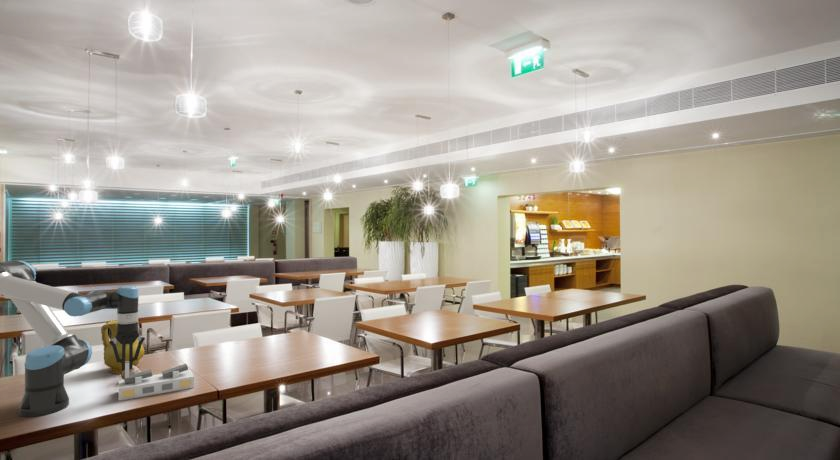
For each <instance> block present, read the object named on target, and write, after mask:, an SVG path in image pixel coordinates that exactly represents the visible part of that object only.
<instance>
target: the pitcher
mask: <svg viewBox="0 0 840 460" xmlns="http://www.w3.org/2000/svg"><path fill="white" fill-rule="evenodd" d="M136 322H138V324H139V323H140V322H139V320H138V321H136ZM117 324H118V322H117V319H116V320H115V319H114V320H112V321H108V322H107V323H105V324H103V325H102V326H101V329H100V332H101V333H100V334H101V340H102V345H103V362H104V365H105V366H106V367H108V368H110V369H109V370H108V371H109V373H110V372H111V374H122V372H123V371H122V363H120V362H117V360H116V357H115V354H114V350H113V347H112V345H111V344H110V343H109V342H110V340H112V339H114V338H115V337H116V335H117ZM108 330H110V332H111V336H110V339H109V333H108V332H109V331H108ZM138 339H139V338H137V339H136V341H135V342H134V343H133V357H134V356H135V353H136V349H137V346H138V342H139V341H138ZM116 346H117V350H118V353H119V357H120V359H122V344H120V343H119V341H118V340H116ZM144 347H145V346H144V345H143V343H142V345H141V349H140V352H139V355H138V359H137V360H134V361H133V364H132V365H134V366H136V367H137V368H138V369H139V366H138V364H139V363H140V360H141V359H142V358H143V357H144V356H145V348H144ZM127 361H129V344H126V349H125V362H127Z"/></svg>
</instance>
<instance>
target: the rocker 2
mask: <svg viewBox="0 0 840 460" xmlns="http://www.w3.org/2000/svg"><path fill="white" fill-rule="evenodd" d="M173 367H174V368H172V367H171V368H169V369H165V370H162V371H161V374H162V375H163V378H166V377H168V376H171V375H173V371H179V373H180V372H183V371H186V370H189V368H188V365H187V363H184V364H181V365H178V366H177V365H176V366H173Z"/></svg>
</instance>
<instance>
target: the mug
mask: <svg viewBox="0 0 840 460" xmlns="http://www.w3.org/2000/svg"><path fill="white" fill-rule="evenodd" d="M138 372H143V371H142V370H140V368H139V367H138V368H137V367H136V366H134V365H132V369H130V370H129V375H131V374H135V373H138ZM124 376H125V370H123V372H122V373H121V375H120V377H121V380H124Z"/></svg>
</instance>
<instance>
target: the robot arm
mask: <svg viewBox="0 0 840 460" xmlns="http://www.w3.org/2000/svg"><path fill="white" fill-rule="evenodd" d="M36 272H37V271H36V269H35V268H34V266H33V265H31V264H30V263H29V262H27V261H24V260H14V259H13V260H6V261H0V296H2V297H3V299H9V300H11V302H12V303H13V304H14V306H15V307H16V308H17V310H18V311H19V313H20V314H21V315H22V317H23V318H24V319H25V320H26V322H27V323H28V325H29V326H30V327H31V328H32V330H33V331H34V333H35V334H36V336H37V337H38V338H39V339H40V341H41V342H42V343H43V345H44V346H43V347H39V348H36V349H33V350H30V352H28V353H27V354H26V355H25V359H24V360H25V362H24V395H23V396H22V398H21V401H20V403H19V406H18V416H21V417H26V418H27V417H39V416H44V415H49V414H52V413H53V414H54V413H56V412H60V411H62V410H63V409H65V408H67V407H68V406H69V405H70V397H69V396H68V393H67V390H66V388H65V386H64V385H65V384H64V383H65V377H64V376H65V375H67V374H69V373H71V372H73V371H76V370H79V369H81V368H82V367H83V366H85V365H86V364H87V363H88V362H90V360H91V358H92V355H93V348H92V346H91V344H90V343H89V342H88V341H87V340H84V339H79V338H78V337H77V335H76V334H75V333H71V332H70V333H69V332H68V330H66V328H65V327H64V325H63V324H62V323H61V322H60V320H59V319H58V317H57V316H56V314H55V313H54V312H53V310H52V309H57V310H59V311H61V310H62V311H64V312H65V313H66V314H67V315H68V316H70V317H81V316H86V315H88V314H91V313H95V312H99V311H101V310H108V309H109V310H112V309H113V310H114V309H115V310H117V311H116V312H117V313H116V317H117V318H116V320H117V322H118V324H117V335H116V337H115V338H114V339H112V340H111V339H109V343H110V344H111V345H112V347H113V350H114V354H115V357H116V360H117V362H120V363H122V371H123V370H125V378H129V370H130V369H132V364H133V361H134V360H137V359H138V355H139V352H140V349H141V345H142V344H143V343H144V341H145V339H146V338H145V336H144V335H143V336H142V335H140V332H139V323H138V322H139V297H140V296H139V287H138V286H136V285H127V286H126V285H123V286H119V287H118V288H117V290H115V291H114V290H113V291H112V290H108V291H107V290H93V291H89V292H88V293H87V294H82V293H77V292H74V291H70V290H66V289H63V288H58V287H54V286H51V285H49V284H48V285H47V284H43V283H40V282H37V281H36V278H37V276H36V275H37V273H36ZM136 321H138V322H136ZM137 338H138V341H139V342H138V346H137V349H136V353H135V356H134V357H133V343H134V342H135V341H136V339H137ZM116 340H118V341H119V343H120V344H122V359H120V357H119V353H118V350H117V346H116ZM126 344H129V361H127V362H125V349H126Z"/></svg>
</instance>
